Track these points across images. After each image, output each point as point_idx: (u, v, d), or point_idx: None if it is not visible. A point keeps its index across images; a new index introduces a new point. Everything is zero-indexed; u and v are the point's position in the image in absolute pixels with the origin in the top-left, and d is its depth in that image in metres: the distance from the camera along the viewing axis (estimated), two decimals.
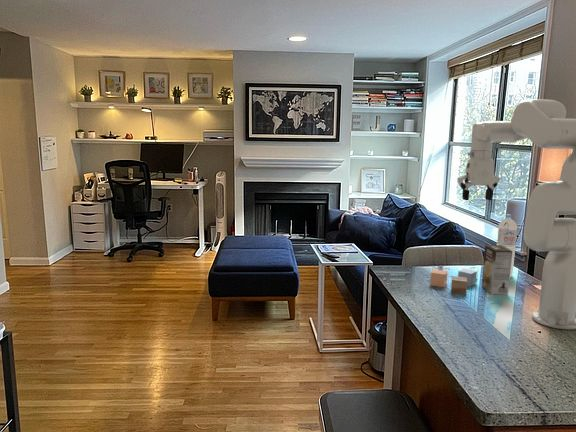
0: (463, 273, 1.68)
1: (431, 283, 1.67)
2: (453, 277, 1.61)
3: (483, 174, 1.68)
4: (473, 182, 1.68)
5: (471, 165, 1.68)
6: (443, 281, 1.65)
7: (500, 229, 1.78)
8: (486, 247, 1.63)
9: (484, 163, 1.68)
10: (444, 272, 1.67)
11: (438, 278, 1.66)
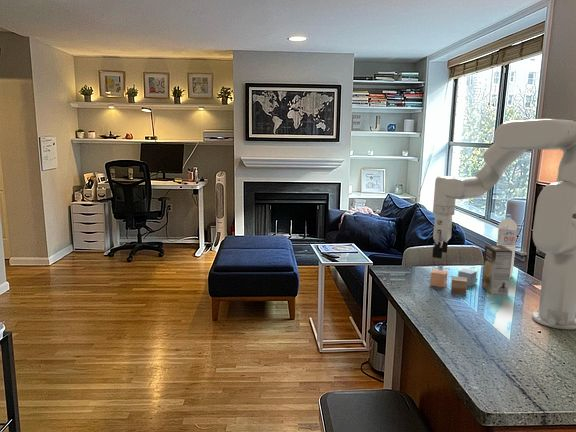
0: (463, 273, 1.68)
1: (431, 283, 1.67)
2: (453, 277, 1.61)
3: (450, 229, 1.64)
4: (447, 239, 1.61)
5: (445, 222, 1.60)
6: (443, 281, 1.65)
7: (500, 229, 1.78)
8: (486, 247, 1.63)
9: (450, 218, 1.63)
10: (444, 272, 1.67)
11: (438, 278, 1.66)
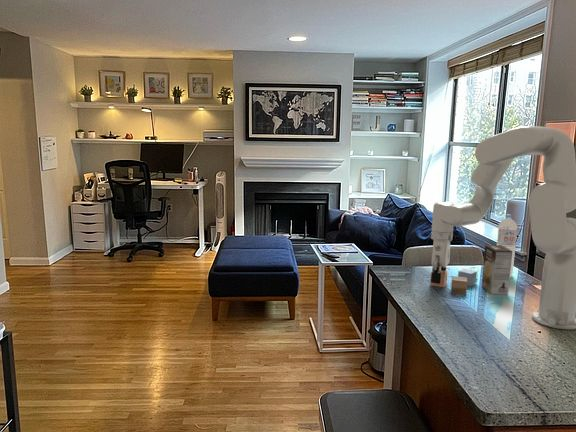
0: (463, 273, 1.68)
1: (431, 283, 1.67)
2: (453, 277, 1.61)
3: (448, 254, 1.65)
4: (445, 265, 1.63)
5: (443, 248, 1.61)
6: (443, 281, 1.65)
7: (500, 229, 1.78)
8: (486, 247, 1.63)
9: (449, 244, 1.65)
10: (444, 272, 1.67)
11: None
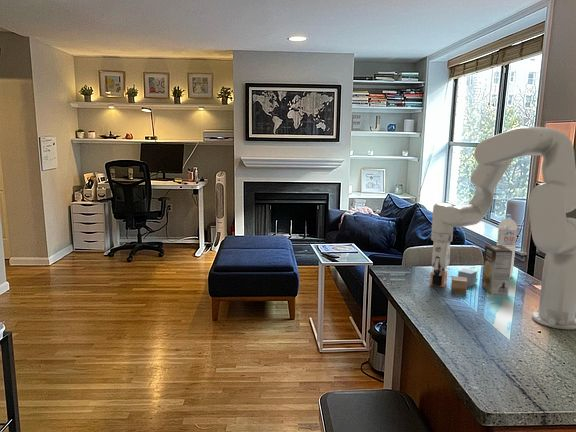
0: (463, 273, 1.68)
1: (430, 283, 1.67)
2: (453, 277, 1.61)
3: (448, 255, 1.65)
4: (445, 266, 1.62)
5: (443, 249, 1.61)
6: (443, 281, 1.65)
7: (500, 229, 1.78)
8: (486, 247, 1.63)
9: (448, 245, 1.65)
10: (444, 272, 1.67)
11: None
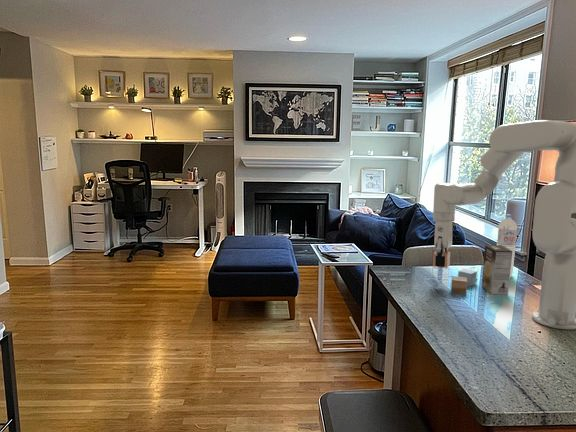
0: (463, 273, 1.68)
1: (433, 264, 1.66)
2: (453, 277, 1.61)
3: (450, 236, 1.63)
4: (448, 246, 1.61)
5: (445, 228, 1.60)
6: (446, 261, 1.63)
7: (500, 229, 1.78)
8: (486, 247, 1.63)
9: (451, 225, 1.63)
10: (447, 253, 1.65)
11: None
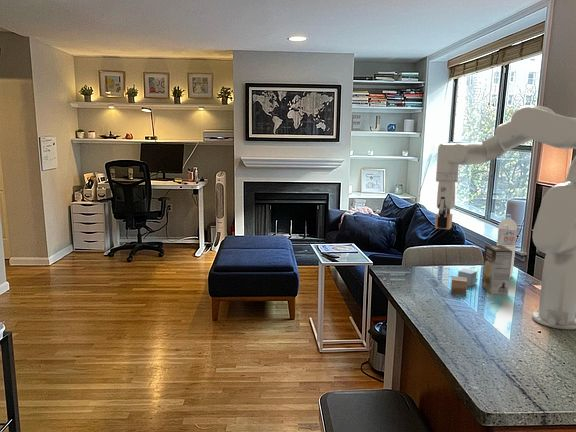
0: (463, 273, 1.68)
1: (435, 225, 1.64)
2: (453, 277, 1.61)
3: (453, 197, 1.62)
4: (450, 206, 1.59)
5: (448, 189, 1.58)
6: (448, 223, 1.62)
7: (500, 229, 1.78)
8: (486, 247, 1.63)
9: (454, 186, 1.61)
10: (449, 214, 1.64)
11: None
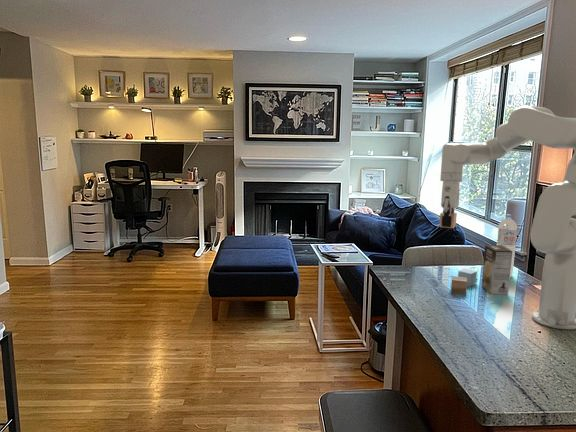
0: (463, 273, 1.68)
1: (440, 224, 1.67)
2: (453, 277, 1.61)
3: (457, 196, 1.64)
4: (455, 206, 1.62)
5: (453, 188, 1.61)
6: (452, 222, 1.64)
7: (500, 229, 1.78)
8: (486, 247, 1.63)
9: (458, 186, 1.64)
10: (453, 213, 1.66)
11: None
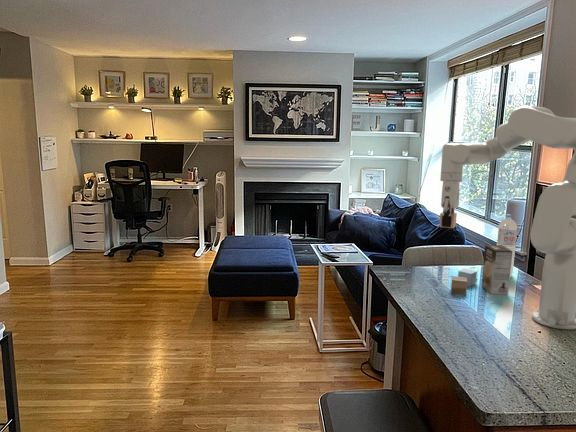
0: (463, 273, 1.68)
1: (440, 224, 1.67)
2: (453, 277, 1.61)
3: (457, 196, 1.64)
4: (455, 206, 1.62)
5: (453, 188, 1.61)
6: (452, 222, 1.64)
7: (500, 229, 1.78)
8: (486, 247, 1.63)
9: (458, 186, 1.64)
10: (453, 213, 1.66)
11: None
